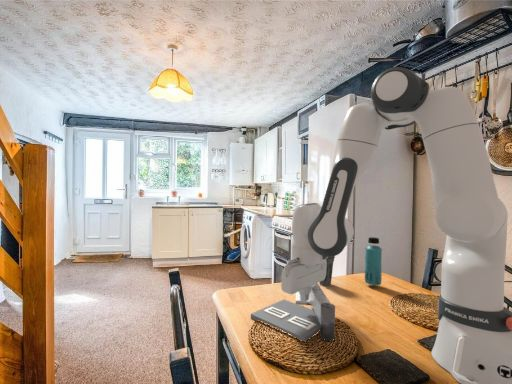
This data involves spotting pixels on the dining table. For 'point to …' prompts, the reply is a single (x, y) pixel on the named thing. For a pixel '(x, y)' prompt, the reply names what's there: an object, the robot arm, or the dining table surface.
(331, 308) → the grey rectangular block
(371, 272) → the beverage bottle
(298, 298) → the external hard drive
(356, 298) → the dining table surface
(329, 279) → the beverage cup
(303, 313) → the label panel
